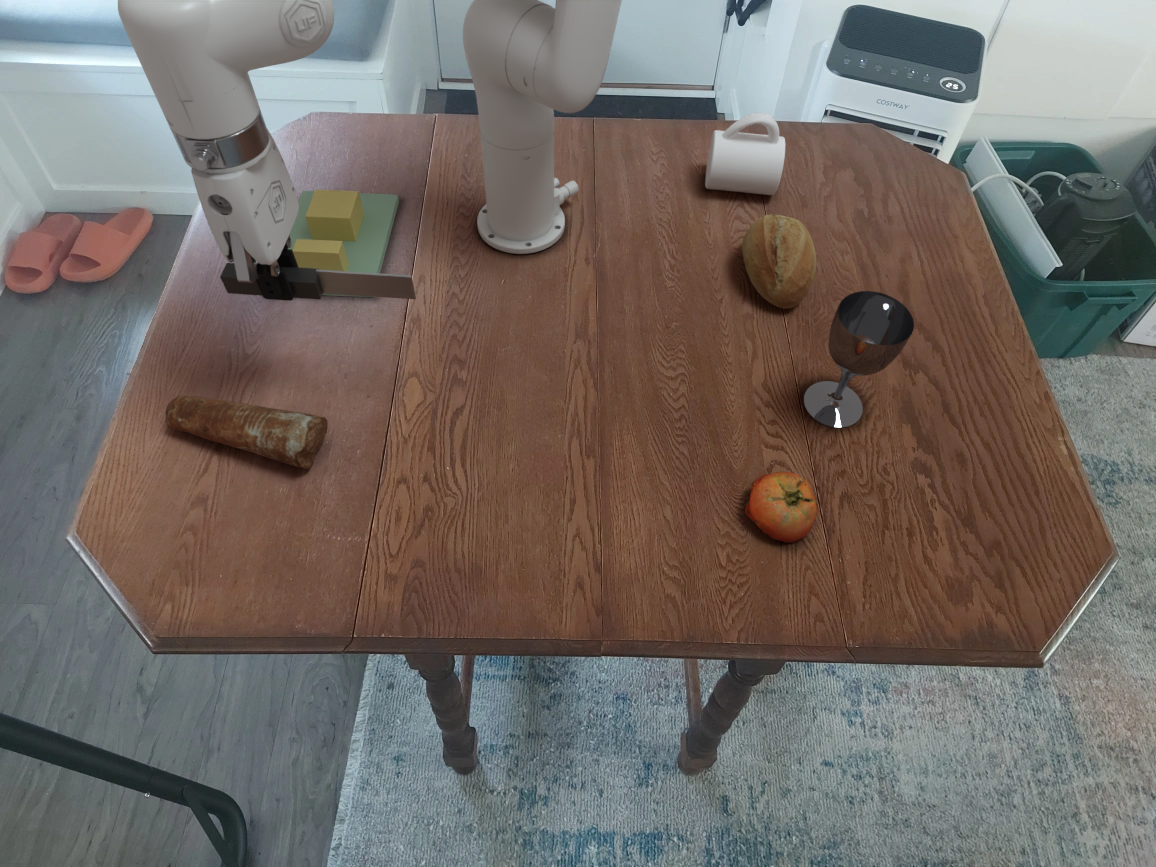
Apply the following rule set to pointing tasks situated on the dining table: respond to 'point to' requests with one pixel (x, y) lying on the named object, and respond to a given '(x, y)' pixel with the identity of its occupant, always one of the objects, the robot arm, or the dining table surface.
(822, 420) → the wine glass
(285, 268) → the knife
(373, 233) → the butter board
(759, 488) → the tomato
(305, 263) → the butter pat
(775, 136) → the mug
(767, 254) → the bread roll
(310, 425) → the bread
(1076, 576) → the dining table surface
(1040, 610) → the dining table surface
